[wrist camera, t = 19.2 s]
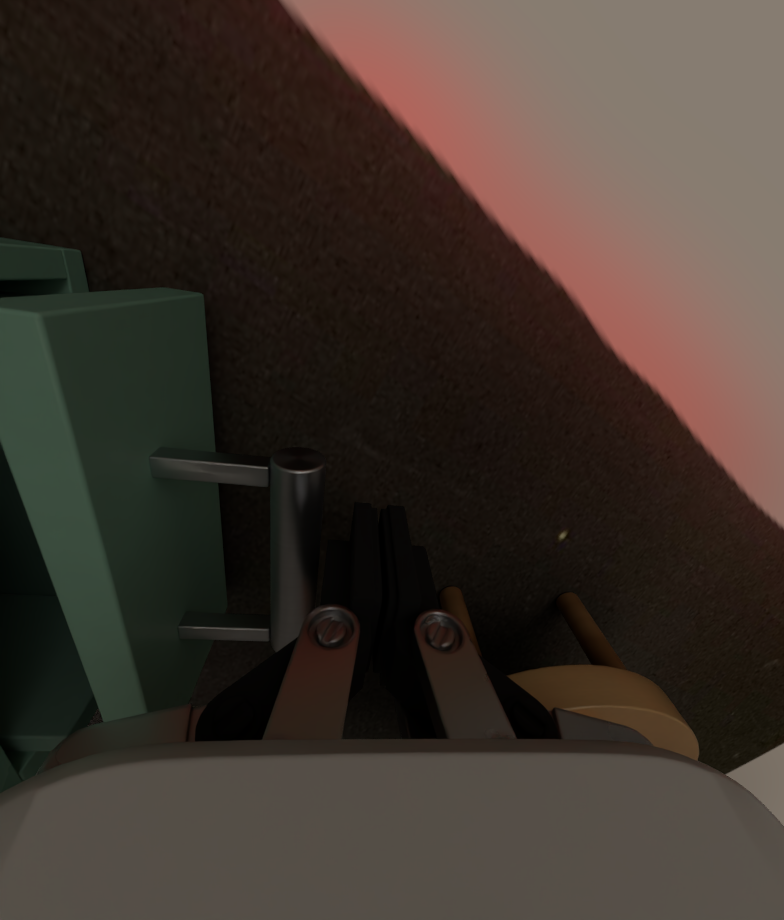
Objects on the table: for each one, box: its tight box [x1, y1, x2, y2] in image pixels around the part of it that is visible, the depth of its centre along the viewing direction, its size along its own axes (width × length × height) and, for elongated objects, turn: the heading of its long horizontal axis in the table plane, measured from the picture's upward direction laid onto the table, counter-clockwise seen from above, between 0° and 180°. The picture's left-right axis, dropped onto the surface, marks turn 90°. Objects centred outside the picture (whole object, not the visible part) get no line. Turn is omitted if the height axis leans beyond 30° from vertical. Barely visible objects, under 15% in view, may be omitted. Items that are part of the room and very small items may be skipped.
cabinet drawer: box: [0, 287, 326, 752], centre depth 10 cm, size 17×13×6 cm
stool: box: [439, 586, 699, 761], centre depth 18 cm, size 12×12×7 cm
